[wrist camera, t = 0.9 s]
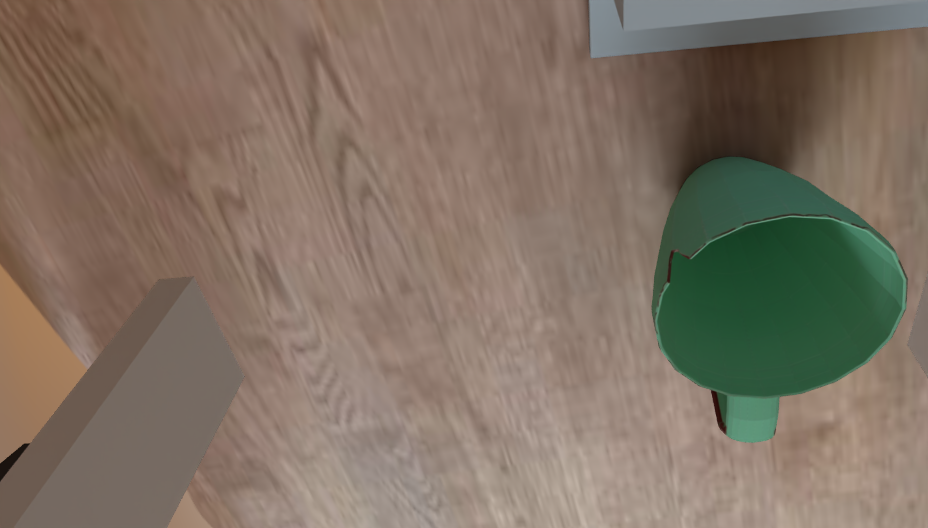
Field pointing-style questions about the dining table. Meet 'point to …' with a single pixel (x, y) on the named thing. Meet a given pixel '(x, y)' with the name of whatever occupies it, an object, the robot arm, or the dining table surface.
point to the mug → (769, 290)
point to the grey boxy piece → (737, 22)
